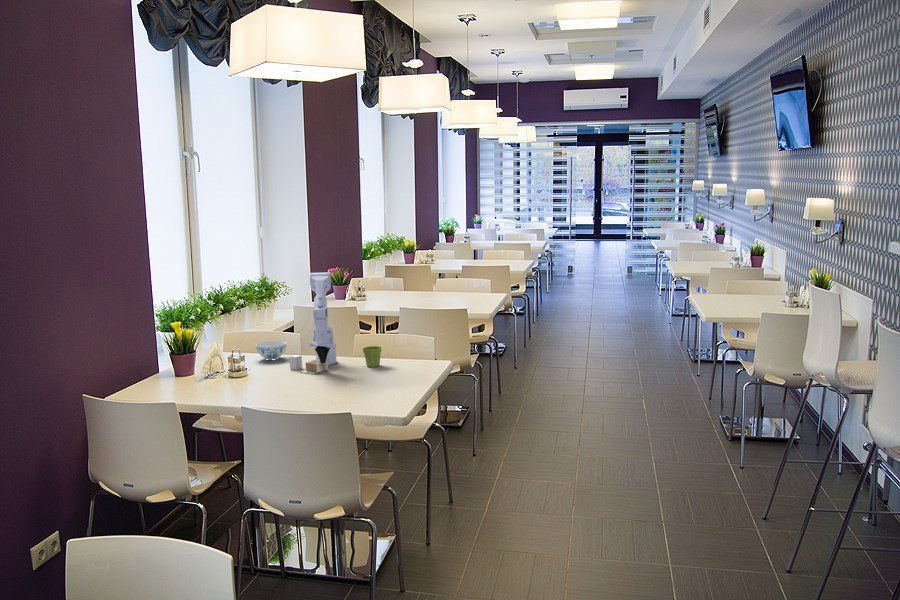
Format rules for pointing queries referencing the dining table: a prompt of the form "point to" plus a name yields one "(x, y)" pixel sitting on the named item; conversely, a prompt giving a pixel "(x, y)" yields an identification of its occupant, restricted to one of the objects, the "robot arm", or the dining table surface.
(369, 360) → the plant pot
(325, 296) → the robot arm
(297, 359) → the grey block
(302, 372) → the sage mat
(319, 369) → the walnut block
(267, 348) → the chinaware
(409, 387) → the dining table surface
